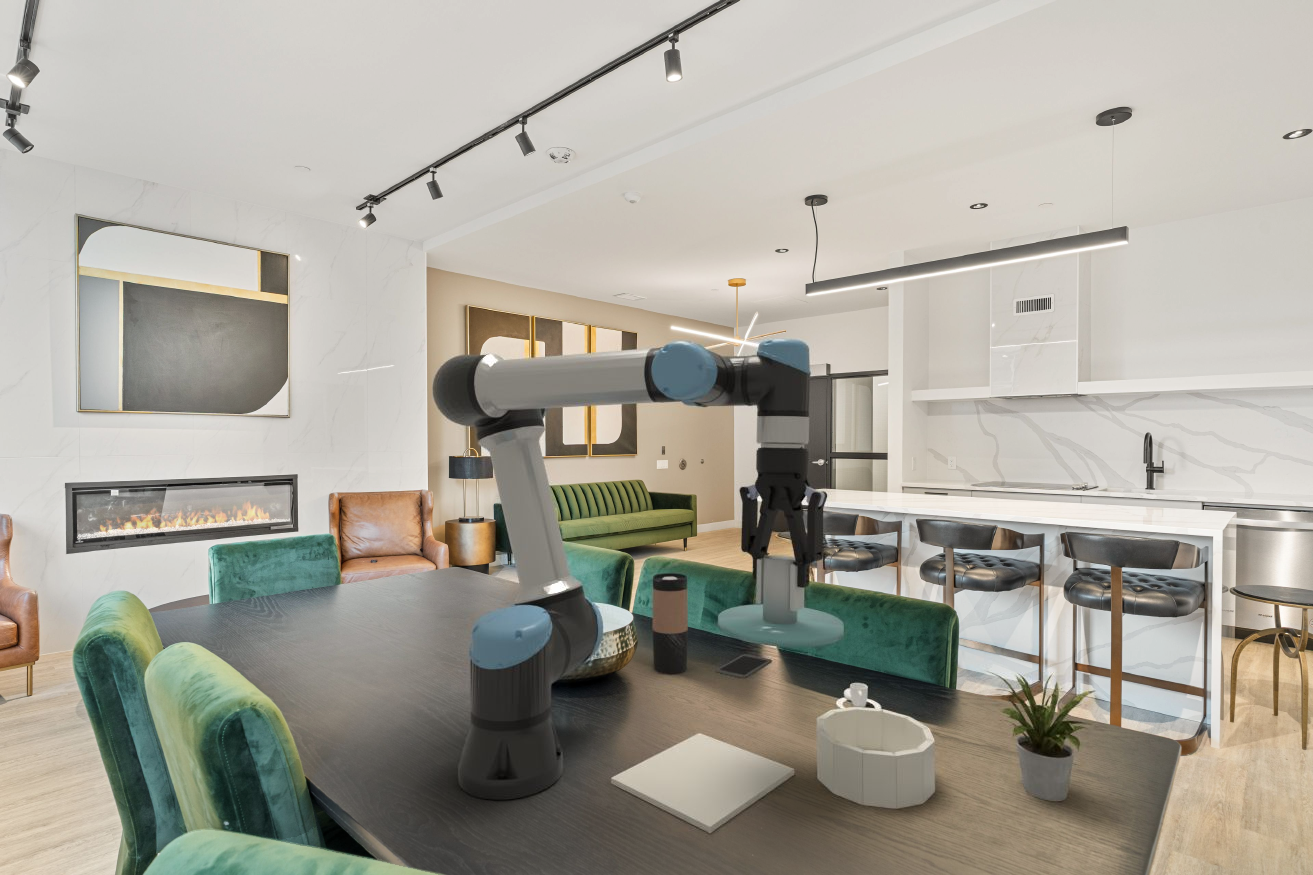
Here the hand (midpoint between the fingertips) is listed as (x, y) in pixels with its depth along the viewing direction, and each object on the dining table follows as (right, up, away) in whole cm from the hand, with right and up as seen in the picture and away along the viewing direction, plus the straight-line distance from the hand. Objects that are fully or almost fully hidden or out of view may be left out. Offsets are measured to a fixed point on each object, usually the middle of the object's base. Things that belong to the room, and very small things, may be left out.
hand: (779, 605), depth 97 cm
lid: (0, -3, 0) cm, 3 cm away
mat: (-11, -25, -1) cm, 27 cm away
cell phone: (+1, -26, +48) cm, 55 cm away
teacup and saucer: (+22, -26, +28) cm, 44 cm away
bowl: (+14, -25, 0) cm, 28 cm away
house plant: (+35, -25, -4) cm, 43 cm away
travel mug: (-15, -26, +47) cm, 55 cm away
